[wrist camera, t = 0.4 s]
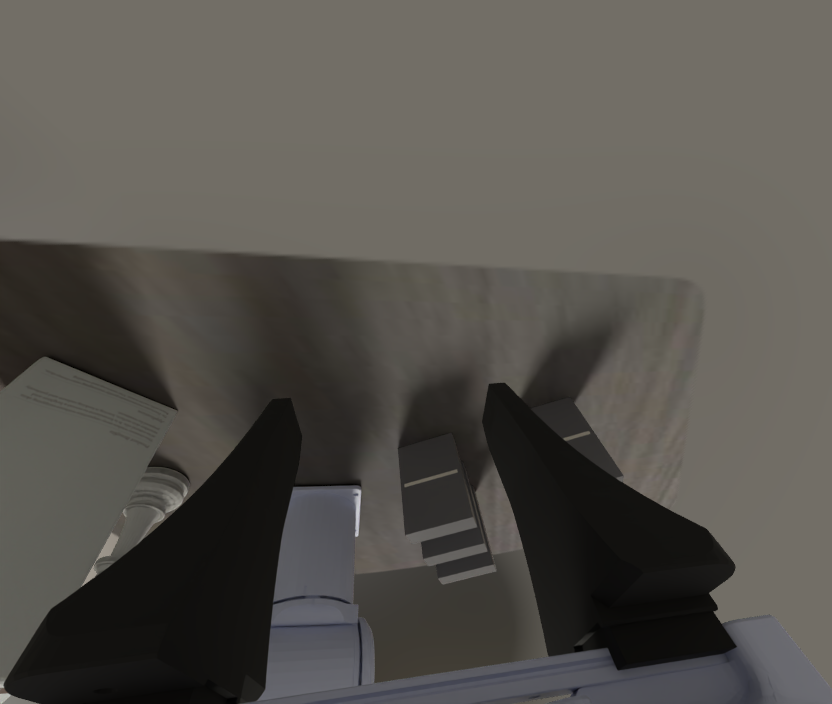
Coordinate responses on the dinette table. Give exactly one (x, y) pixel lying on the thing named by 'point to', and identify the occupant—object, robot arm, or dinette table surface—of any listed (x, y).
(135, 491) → the chess piece
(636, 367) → the dinette table surface
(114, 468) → the skincare box
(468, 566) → the domino
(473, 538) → the domino
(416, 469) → the domino
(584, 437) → the domino
